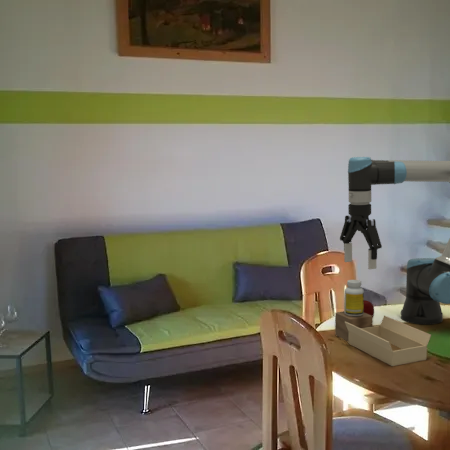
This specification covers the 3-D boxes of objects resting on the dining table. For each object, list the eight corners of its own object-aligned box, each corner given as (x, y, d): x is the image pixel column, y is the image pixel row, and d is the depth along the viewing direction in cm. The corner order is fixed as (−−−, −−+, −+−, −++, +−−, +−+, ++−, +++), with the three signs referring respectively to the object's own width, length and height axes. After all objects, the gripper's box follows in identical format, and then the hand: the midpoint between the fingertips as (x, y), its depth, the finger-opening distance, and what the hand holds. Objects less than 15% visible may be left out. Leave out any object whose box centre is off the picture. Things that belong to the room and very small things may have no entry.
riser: (356, 331, 225) (357, 309, 224) (372, 338, 217) (372, 316, 216) (335, 334, 222) (335, 312, 221) (350, 342, 214) (350, 319, 213)
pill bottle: (363, 317, 215) (364, 283, 213) (344, 316, 216) (344, 283, 214) (363, 312, 221) (364, 279, 219) (344, 311, 222) (344, 278, 221)
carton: (384, 337, 219) (384, 315, 218) (430, 358, 198) (431, 334, 197) (344, 344, 212) (344, 321, 211) (387, 366, 191) (388, 341, 190)
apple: (364, 321, 237) (365, 295, 235) (379, 328, 228) (380, 301, 227) (342, 324, 234) (342, 298, 232) (356, 332, 225) (356, 304, 223)
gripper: (329, 200, 224) (330, 260, 227) (373, 207, 201) (373, 273, 204) (347, 199, 227) (347, 257, 230) (392, 205, 204) (392, 270, 207)
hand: (360, 265), depth 217 cm, fingers open, 13 cm apart
